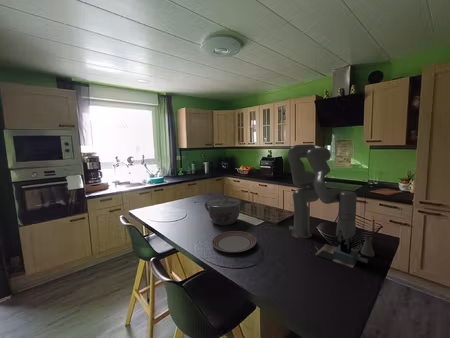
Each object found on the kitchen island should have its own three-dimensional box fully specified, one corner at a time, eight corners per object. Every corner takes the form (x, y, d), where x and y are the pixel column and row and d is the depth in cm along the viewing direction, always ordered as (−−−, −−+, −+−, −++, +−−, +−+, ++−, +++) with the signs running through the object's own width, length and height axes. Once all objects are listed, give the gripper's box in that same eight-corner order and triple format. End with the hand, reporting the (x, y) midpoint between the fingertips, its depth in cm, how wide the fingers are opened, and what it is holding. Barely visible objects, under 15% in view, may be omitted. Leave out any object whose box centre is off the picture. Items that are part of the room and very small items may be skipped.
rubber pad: (317, 255, 112) (317, 255, 112) (322, 250, 117) (322, 250, 116) (331, 260, 107) (331, 260, 107) (335, 255, 112) (335, 254, 112)
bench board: (314, 256, 113) (314, 254, 113) (325, 245, 124) (325, 243, 124) (352, 270, 100) (352, 267, 100) (361, 256, 112) (361, 254, 111)
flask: (360, 250, 118) (361, 233, 117) (376, 254, 113) (377, 237, 112) (358, 256, 112) (359, 238, 111) (375, 260, 108) (376, 242, 107)
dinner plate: (217, 260, 113) (217, 254, 113) (208, 238, 139) (207, 234, 139) (264, 252, 120) (264, 246, 120) (246, 232, 147) (246, 228, 146)
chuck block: (333, 258, 109) (333, 251, 108) (339, 251, 115) (339, 244, 115) (364, 269, 99) (365, 261, 98) (369, 261, 105) (369, 253, 105)
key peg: (341, 254, 109) (341, 236, 108) (344, 253, 111) (345, 235, 109) (346, 257, 107) (347, 238, 105) (350, 255, 108) (350, 237, 107)
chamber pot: (247, 225, 159) (247, 198, 157) (213, 232, 149) (212, 203, 147) (233, 214, 185) (232, 191, 183) (203, 219, 175) (201, 195, 173)
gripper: (348, 210, 113) (347, 242, 116) (330, 216, 105) (329, 251, 107) (363, 214, 107) (361, 248, 109) (345, 221, 99) (343, 257, 101)
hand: (345, 249), depth 108 cm, fingers closed on key peg, 3 cm apart
